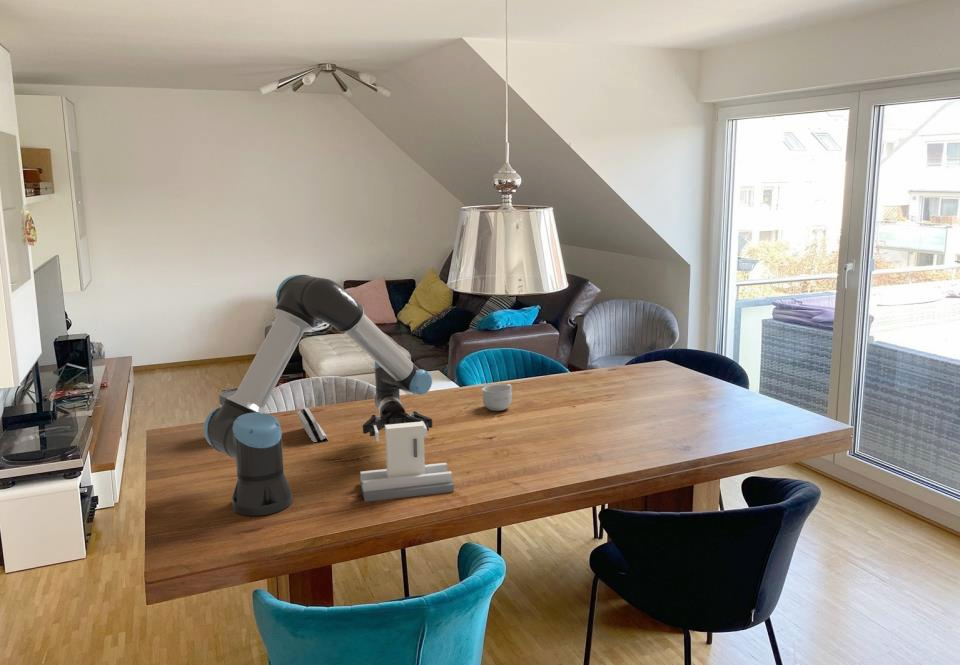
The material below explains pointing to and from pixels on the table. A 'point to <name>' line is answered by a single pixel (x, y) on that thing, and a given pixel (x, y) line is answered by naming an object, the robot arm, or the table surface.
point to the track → (406, 483)
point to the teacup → (497, 396)
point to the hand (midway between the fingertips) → (401, 434)
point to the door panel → (405, 449)
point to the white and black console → (311, 425)
